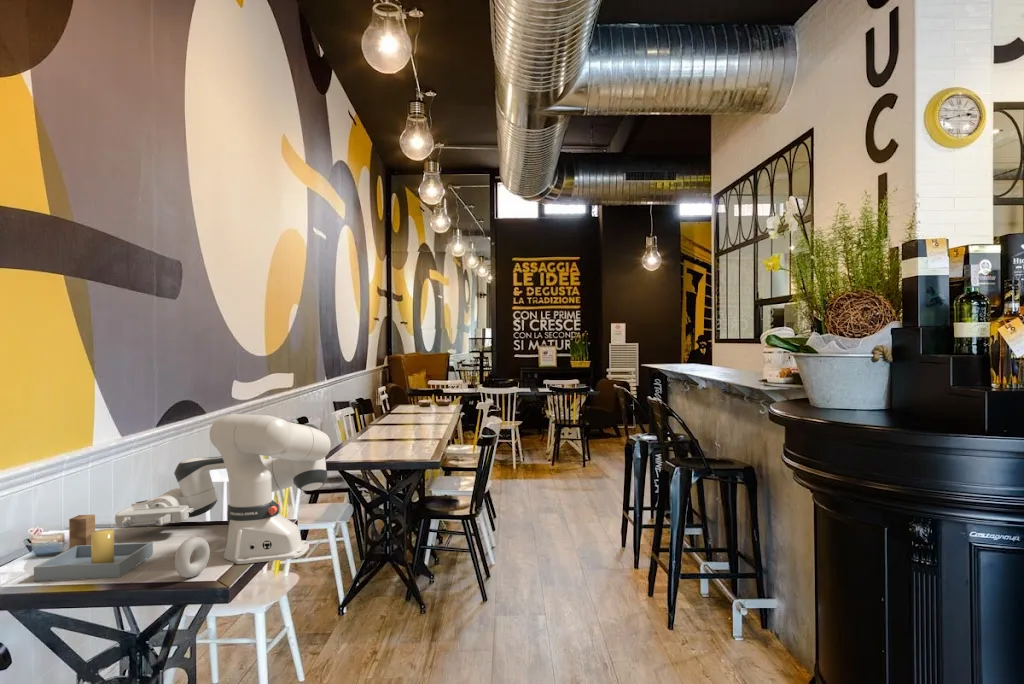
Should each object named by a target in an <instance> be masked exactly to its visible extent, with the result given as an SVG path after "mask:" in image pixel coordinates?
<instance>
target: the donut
mask: <svg viewBox="0 0 1024 684" xmlns="http://www.w3.org/2000/svg"><path fill="white" fill-rule="evenodd" d="M193 552H195V555H194V559H193V561H192V562H191V561H190V559H191V555H192V554H193ZM210 553H211V550H210V545H209V543H208V540H206V539H205V538H204V537H201V536H198V535H197V536H191V537H189V538H187V539H186V540H184V541H183V542H182V543H180V545H179V547H178V548H177V551H176V553H175V556H174V568H175V571H176V573H177V574H178V575H179V576H180V577H182V578H186V579H191V578H195V577H196V576H198V575H200V574H201V573H202V572H203V571H204V570H205V568H206V566H207V564H208V562H209V560H210V556H211V555H210ZM194 576H195V577H194ZM190 577H191V578H190Z"/></svg>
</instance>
